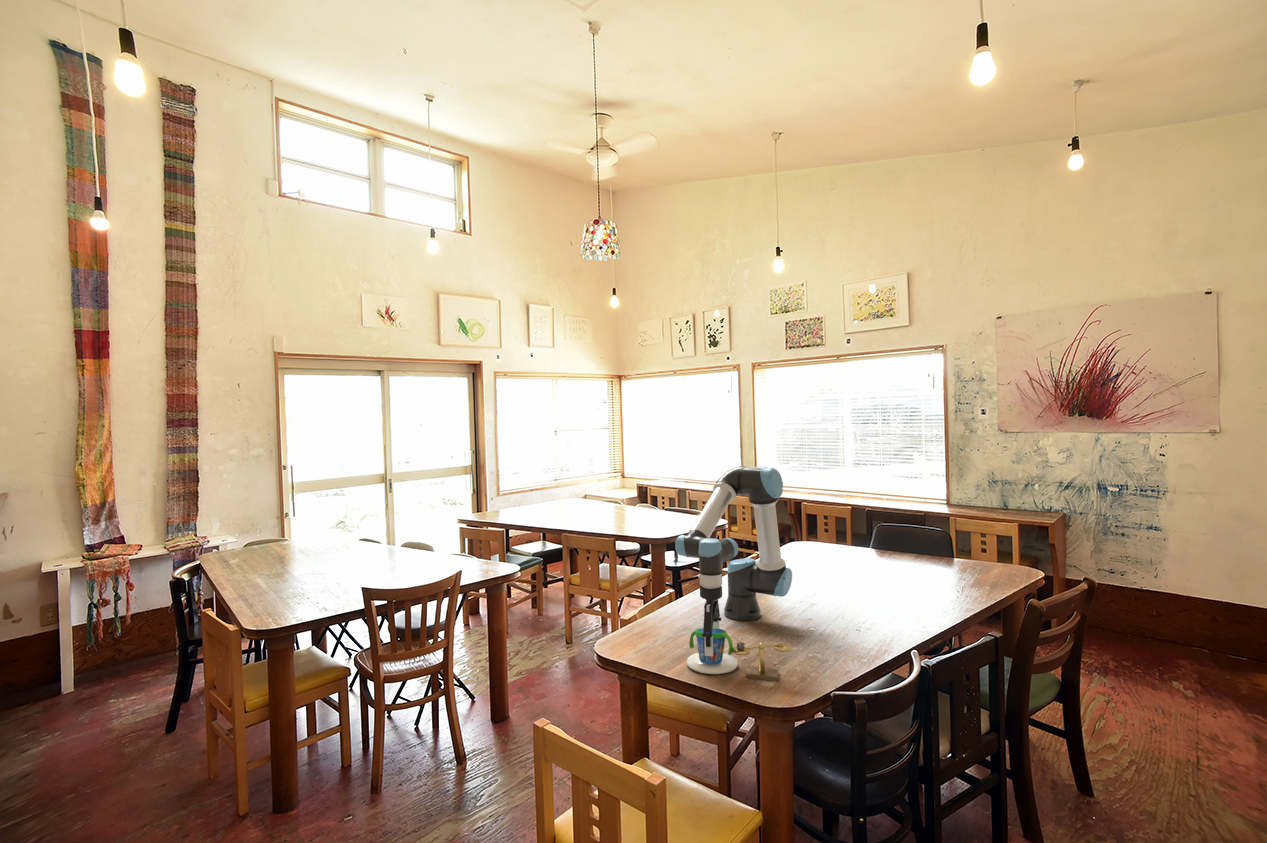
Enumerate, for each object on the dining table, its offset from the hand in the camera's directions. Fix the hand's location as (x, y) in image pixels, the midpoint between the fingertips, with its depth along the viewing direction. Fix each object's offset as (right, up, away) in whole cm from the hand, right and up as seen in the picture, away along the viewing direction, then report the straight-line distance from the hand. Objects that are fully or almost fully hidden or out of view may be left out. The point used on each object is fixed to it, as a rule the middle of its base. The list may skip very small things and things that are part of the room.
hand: (712, 647), depth 205 cm
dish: (0, -6, 0) cm, 6 cm away
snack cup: (-1, -4, -3) cm, 5 cm away
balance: (+15, -5, -9) cm, 18 cm away
